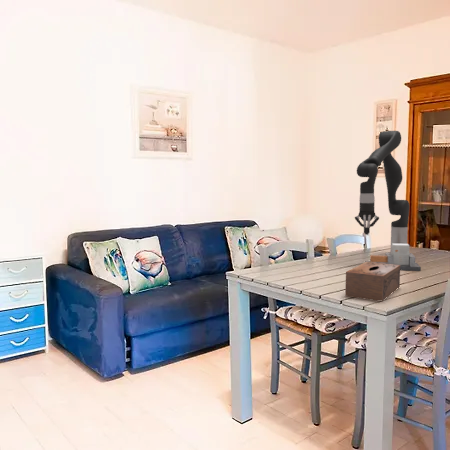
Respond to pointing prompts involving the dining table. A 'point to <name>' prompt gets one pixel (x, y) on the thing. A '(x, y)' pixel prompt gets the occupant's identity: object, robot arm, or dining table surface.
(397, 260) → the small box
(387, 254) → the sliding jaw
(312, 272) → the dining table surface
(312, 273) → the dining table surface
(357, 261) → the dining table surface
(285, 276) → the dining table surface
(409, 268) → the vise
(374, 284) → the tissue box cover
